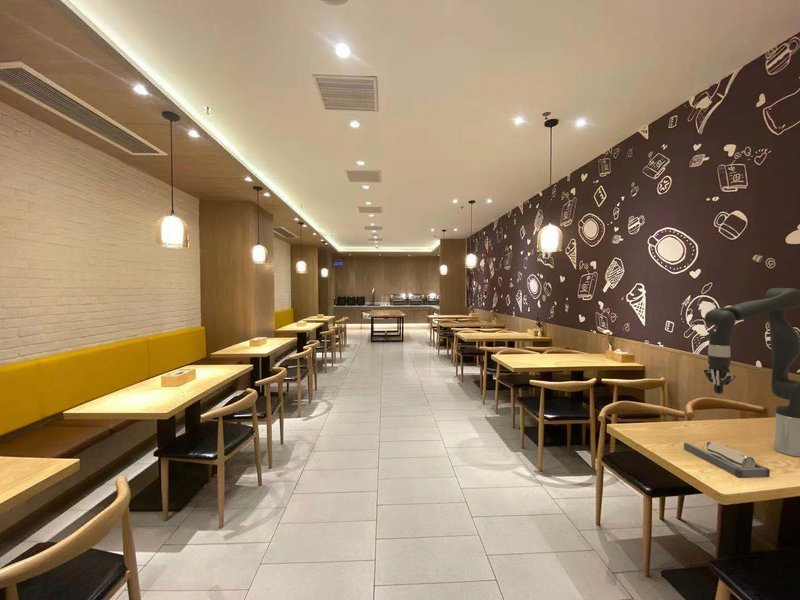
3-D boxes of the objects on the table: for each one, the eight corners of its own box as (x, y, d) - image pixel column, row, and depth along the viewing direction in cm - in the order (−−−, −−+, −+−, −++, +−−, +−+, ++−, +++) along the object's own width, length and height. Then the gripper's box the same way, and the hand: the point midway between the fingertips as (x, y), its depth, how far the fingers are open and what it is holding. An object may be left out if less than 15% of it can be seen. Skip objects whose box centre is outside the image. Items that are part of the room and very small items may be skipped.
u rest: (709, 448, 169) (710, 441, 169) (769, 476, 143) (769, 469, 143) (683, 448, 168) (683, 442, 168) (739, 477, 142) (739, 470, 142)
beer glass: (705, 455, 161) (740, 472, 146) (707, 440, 161) (742, 455, 146) (719, 457, 162) (755, 473, 147) (721, 441, 162) (757, 456, 147)
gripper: (742, 357, 155) (741, 397, 156) (712, 351, 168) (712, 388, 169) (726, 357, 154) (725, 398, 155) (697, 352, 167) (697, 389, 168)
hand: (718, 393), depth 162 cm, fingers closed
